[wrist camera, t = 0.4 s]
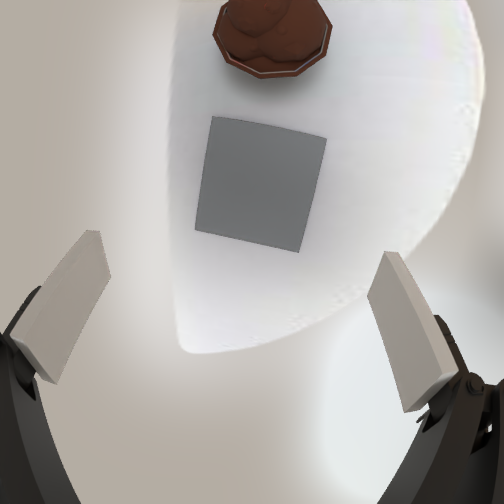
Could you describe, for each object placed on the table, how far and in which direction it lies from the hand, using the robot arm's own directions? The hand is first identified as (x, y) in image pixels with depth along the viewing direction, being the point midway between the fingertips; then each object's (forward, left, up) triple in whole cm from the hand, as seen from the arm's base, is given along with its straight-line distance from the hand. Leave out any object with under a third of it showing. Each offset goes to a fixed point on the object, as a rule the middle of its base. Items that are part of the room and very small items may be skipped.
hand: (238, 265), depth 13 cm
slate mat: (+1, -1, -24) cm, 24 cm away
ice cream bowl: (-16, -2, -25) cm, 30 cm away
